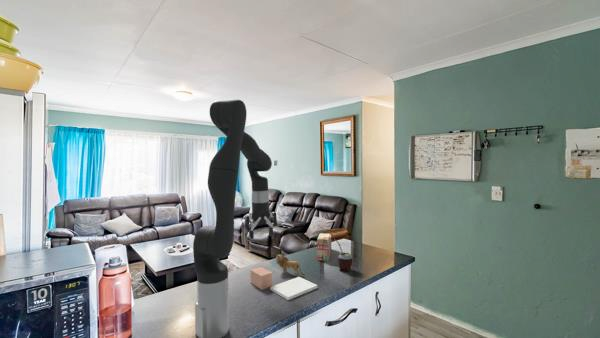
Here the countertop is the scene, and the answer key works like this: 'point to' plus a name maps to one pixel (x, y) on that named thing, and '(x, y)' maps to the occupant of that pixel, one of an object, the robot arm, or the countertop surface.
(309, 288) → the baseplate
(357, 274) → the countertop surface
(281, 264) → the lion figurine
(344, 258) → the mate gourd
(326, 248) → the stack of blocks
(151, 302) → the countertop surface
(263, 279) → the terracotta brick
